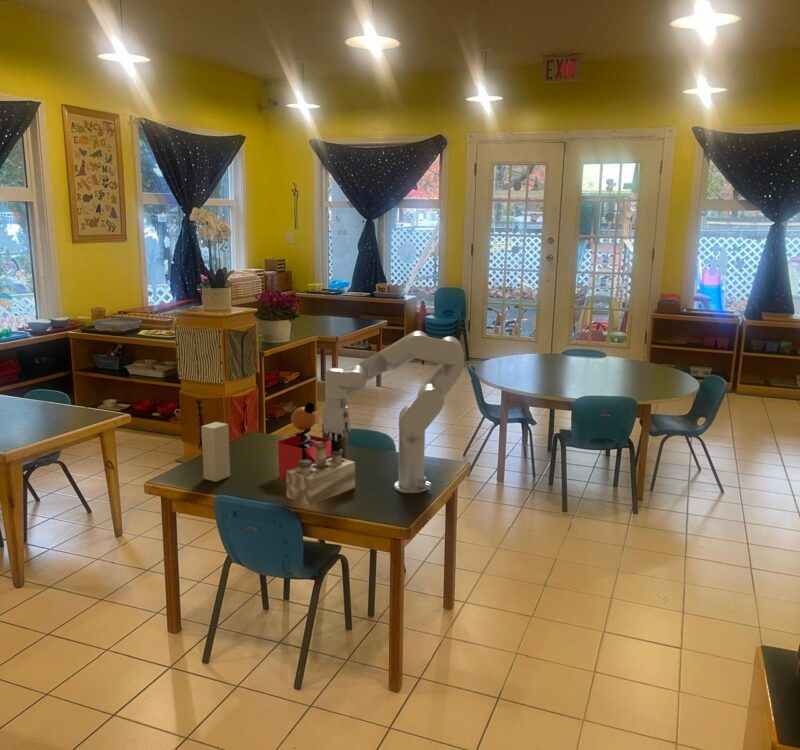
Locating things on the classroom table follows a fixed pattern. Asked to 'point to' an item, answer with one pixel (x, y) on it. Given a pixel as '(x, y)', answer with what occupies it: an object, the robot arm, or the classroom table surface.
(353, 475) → the wooden cylinder block
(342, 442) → the wooden toy
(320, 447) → the plug mid
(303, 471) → the plug
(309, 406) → the jack-in-the-box
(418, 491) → the robot arm
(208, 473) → the toy refrigerator
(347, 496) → the classroom table surface
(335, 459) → the plug
